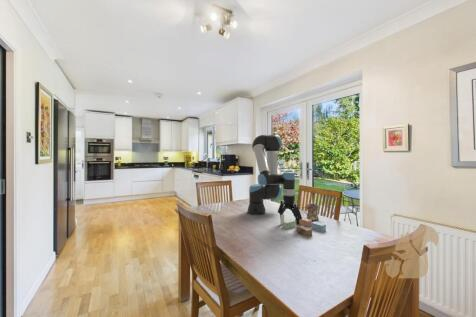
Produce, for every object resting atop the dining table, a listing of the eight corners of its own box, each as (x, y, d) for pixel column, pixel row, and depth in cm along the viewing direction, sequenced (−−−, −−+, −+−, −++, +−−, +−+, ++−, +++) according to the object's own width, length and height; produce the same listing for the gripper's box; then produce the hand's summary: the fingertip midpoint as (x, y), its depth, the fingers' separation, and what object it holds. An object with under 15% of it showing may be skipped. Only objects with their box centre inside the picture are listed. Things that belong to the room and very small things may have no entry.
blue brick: (311, 228, 142) (311, 222, 142) (314, 227, 145) (314, 221, 145) (322, 232, 136) (322, 225, 136) (325, 230, 138) (325, 224, 138)
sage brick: (286, 229, 142) (286, 223, 142) (282, 227, 146) (282, 221, 145) (295, 226, 146) (295, 220, 146) (291, 225, 150) (291, 219, 150)
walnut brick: (297, 233, 135) (297, 226, 134) (301, 231, 137) (301, 225, 137) (307, 237, 128) (307, 230, 128) (312, 236, 130) (311, 229, 130)
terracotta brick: (298, 223, 152) (298, 218, 152) (302, 222, 154) (302, 217, 154) (307, 227, 145) (307, 221, 145) (311, 226, 147) (311, 220, 147)
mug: (317, 217, 166) (317, 203, 166) (320, 221, 157) (320, 206, 156) (301, 217, 167) (301, 203, 166) (303, 221, 157) (303, 206, 157)
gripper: (272, 192, 154) (272, 222, 154) (299, 198, 133) (299, 233, 133) (280, 191, 158) (280, 220, 158) (307, 197, 137) (307, 230, 137)
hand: (289, 226), depth 146 cm, fingers open, 13 cm apart
